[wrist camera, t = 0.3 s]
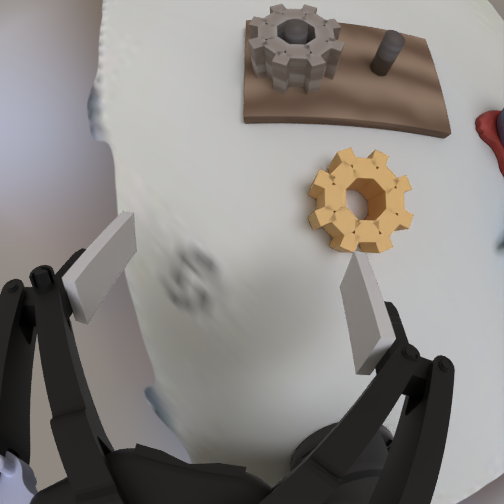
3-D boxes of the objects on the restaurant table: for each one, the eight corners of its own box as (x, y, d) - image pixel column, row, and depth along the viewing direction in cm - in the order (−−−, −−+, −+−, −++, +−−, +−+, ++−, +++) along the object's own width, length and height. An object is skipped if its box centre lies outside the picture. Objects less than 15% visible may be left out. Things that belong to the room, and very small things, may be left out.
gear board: (444, 138, 30) (480, 113, 22) (245, 123, 33) (235, 85, 24) (420, 46, 30) (442, 12, 21) (247, 29, 33) (240, -14, 24)
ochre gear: (392, 252, 31) (414, 253, 25) (307, 251, 32) (314, 252, 26) (389, 167, 31) (408, 153, 25) (306, 163, 32) (312, 145, 26)
